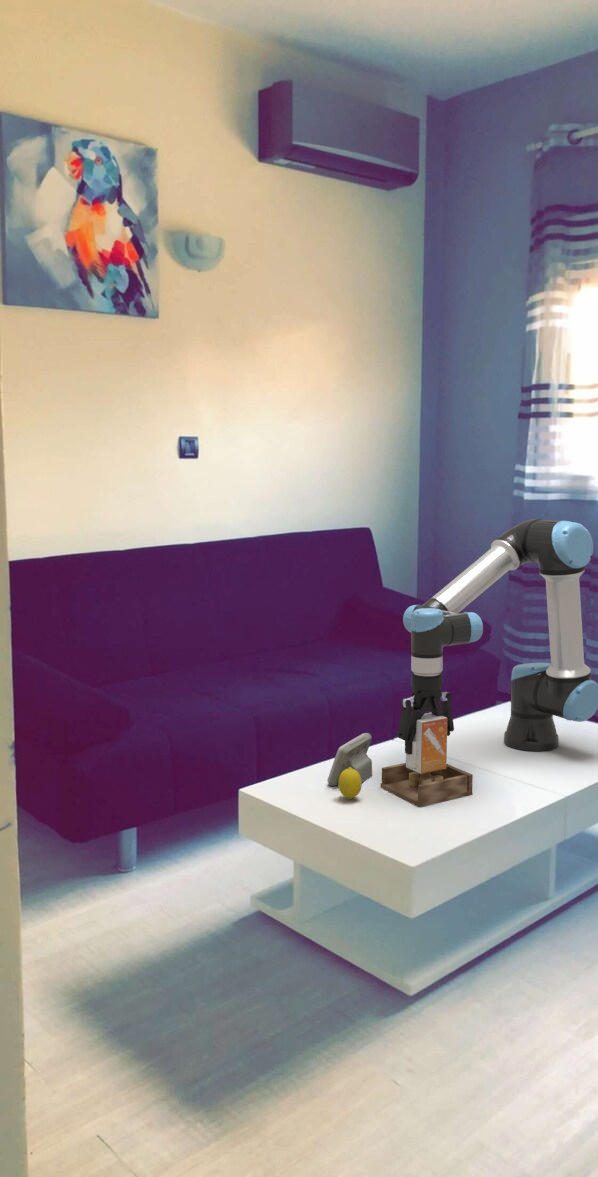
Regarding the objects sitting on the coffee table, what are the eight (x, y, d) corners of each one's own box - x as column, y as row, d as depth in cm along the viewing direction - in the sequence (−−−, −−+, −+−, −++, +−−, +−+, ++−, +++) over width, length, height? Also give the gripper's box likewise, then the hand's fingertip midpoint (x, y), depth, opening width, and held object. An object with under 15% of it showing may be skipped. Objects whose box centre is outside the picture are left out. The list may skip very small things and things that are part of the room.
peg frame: (431, 776, 249) (431, 757, 248) (472, 794, 235) (472, 774, 235) (380, 787, 241) (380, 768, 240) (419, 807, 227) (419, 786, 227)
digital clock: (356, 767, 256) (356, 728, 255) (384, 775, 251) (384, 735, 249) (317, 783, 244) (316, 743, 243) (345, 791, 238) (344, 750, 237)
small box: (421, 774, 233) (421, 722, 231) (405, 767, 238) (405, 716, 236) (447, 769, 237) (448, 717, 235) (431, 761, 242) (431, 711, 240)
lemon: (364, 796, 235) (364, 765, 234) (358, 804, 230) (357, 772, 228) (342, 794, 236) (342, 762, 235) (335, 802, 231) (335, 770, 230)
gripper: (450, 664, 242) (449, 752, 246) (382, 675, 232) (382, 766, 235) (470, 670, 236) (469, 760, 239) (400, 681, 226) (400, 775, 229)
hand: (426, 763), depth 237 cm, fingers closed on small box, 8 cm apart
